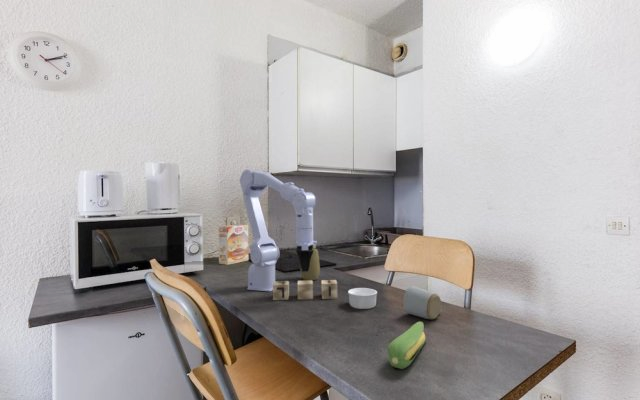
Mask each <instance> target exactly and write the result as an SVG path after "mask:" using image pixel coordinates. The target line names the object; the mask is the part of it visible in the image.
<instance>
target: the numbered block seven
mask: <svg viewBox="0 0 640 400" xmlns="http://www.w3.org/2000/svg"><path fill="white" fill-rule="evenodd" d="M289 299H290V281H289V280H275V281H274V283H273V290H272V300H273V301H288V300H289Z"/></svg>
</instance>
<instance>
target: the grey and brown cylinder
mask: <svg viewBox="0 0 640 400" xmlns="http://www.w3.org/2000/svg"><path fill="white" fill-rule="evenodd" d="M402 308H403V310H404V312H405V313H406V314H409V315H412V316H415V317H419V318H422V319H426V320H435V319H436V318H438V317H439V315H440V313H441V312H442V300H441V298H440V295H439V294H437V293H435V292H433V291H430V290H427V289H424V288H421V287H418V286H415V285H412V286H409V287H408V288H407V289H406V290H405V292H404V294H403V298H402Z"/></svg>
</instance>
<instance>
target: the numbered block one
mask: <svg viewBox="0 0 640 400" xmlns="http://www.w3.org/2000/svg"><path fill="white" fill-rule="evenodd" d="M320 283H321V299H322V300H326V299H327V300H332V299H333V300H334V299H338V281H337V279H321V282H320Z"/></svg>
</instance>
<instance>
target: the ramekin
mask: <svg viewBox="0 0 640 400" xmlns="http://www.w3.org/2000/svg"><path fill="white" fill-rule="evenodd" d="M347 294H348V300H349V306H350V307H352V308H354V309H359V310H368V309H373V308H374V307H376V305H377V295H378V291H377V290H375V289H373V288H367V287H354V288H351V289H349V290H348V291H347Z"/></svg>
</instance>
